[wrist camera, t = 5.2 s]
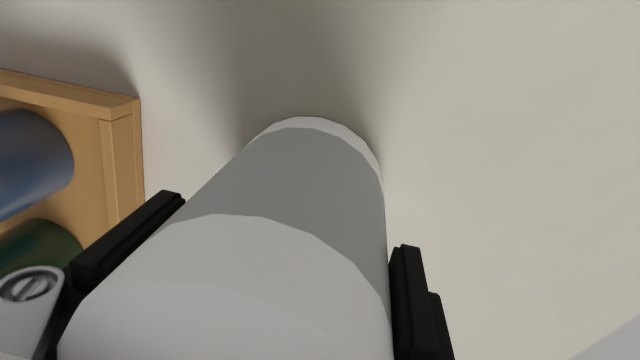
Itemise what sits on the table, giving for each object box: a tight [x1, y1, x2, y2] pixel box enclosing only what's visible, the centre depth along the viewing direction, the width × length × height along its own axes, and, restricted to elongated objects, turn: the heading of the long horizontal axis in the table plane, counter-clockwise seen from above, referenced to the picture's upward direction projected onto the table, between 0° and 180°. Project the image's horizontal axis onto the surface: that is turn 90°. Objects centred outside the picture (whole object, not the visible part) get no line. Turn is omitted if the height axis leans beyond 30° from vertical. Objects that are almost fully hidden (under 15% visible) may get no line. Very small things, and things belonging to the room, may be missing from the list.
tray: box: [0, 69, 145, 250], centre depth 21 cm, size 24×11×2 cm, turn 170°
